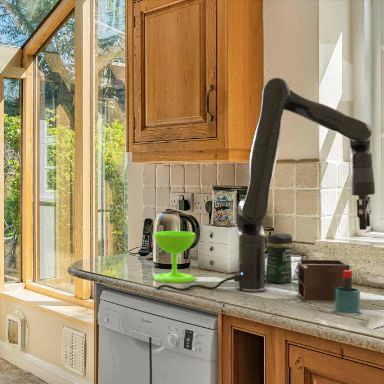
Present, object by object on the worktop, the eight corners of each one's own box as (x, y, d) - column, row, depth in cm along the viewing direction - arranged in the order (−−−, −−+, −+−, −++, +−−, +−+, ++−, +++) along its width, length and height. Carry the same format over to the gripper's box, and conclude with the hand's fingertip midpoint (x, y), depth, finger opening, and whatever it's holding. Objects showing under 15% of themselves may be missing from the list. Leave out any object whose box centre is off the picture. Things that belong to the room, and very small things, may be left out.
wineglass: (202, 281, 228) (202, 234, 227) (163, 283, 222) (164, 236, 222) (184, 274, 243) (184, 230, 242) (147, 276, 237) (148, 231, 237)
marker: (343, 311, 176) (344, 271, 176) (341, 309, 179) (342, 270, 178) (352, 311, 176) (353, 271, 175) (350, 309, 178) (350, 270, 178)
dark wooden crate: (304, 301, 192) (304, 264, 191) (298, 294, 203) (298, 259, 202) (348, 302, 190) (349, 265, 190) (340, 295, 201) (340, 260, 201)
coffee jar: (278, 284, 220) (279, 235, 220) (262, 281, 227) (262, 233, 226) (295, 282, 226) (296, 233, 225) (279, 279, 232) (280, 231, 232)
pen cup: (337, 315, 174) (338, 291, 174) (332, 309, 181) (332, 286, 181) (362, 315, 173) (362, 292, 173) (355, 310, 180) (356, 287, 180)
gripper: (354, 180, 210) (356, 225, 211) (347, 182, 198) (350, 230, 199) (376, 179, 207) (379, 225, 207) (371, 181, 194) (374, 230, 195)
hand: (364, 228), depth 203 cm, fingers open, 8 cm apart
